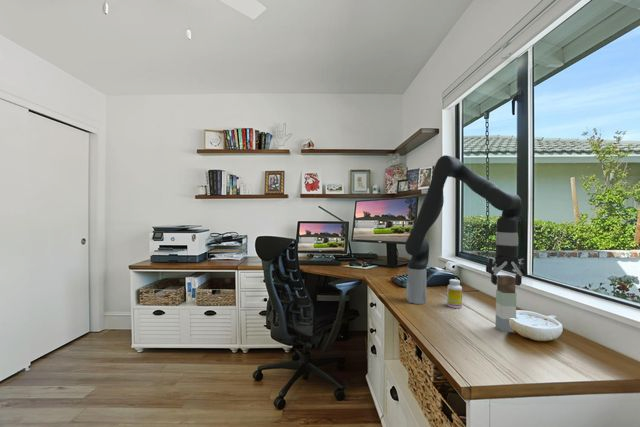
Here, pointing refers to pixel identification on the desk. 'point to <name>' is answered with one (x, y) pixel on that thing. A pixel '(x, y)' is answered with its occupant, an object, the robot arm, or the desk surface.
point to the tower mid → (505, 311)
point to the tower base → (503, 324)
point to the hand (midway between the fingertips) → (506, 284)
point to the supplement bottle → (454, 294)
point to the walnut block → (506, 283)
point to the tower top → (506, 298)
